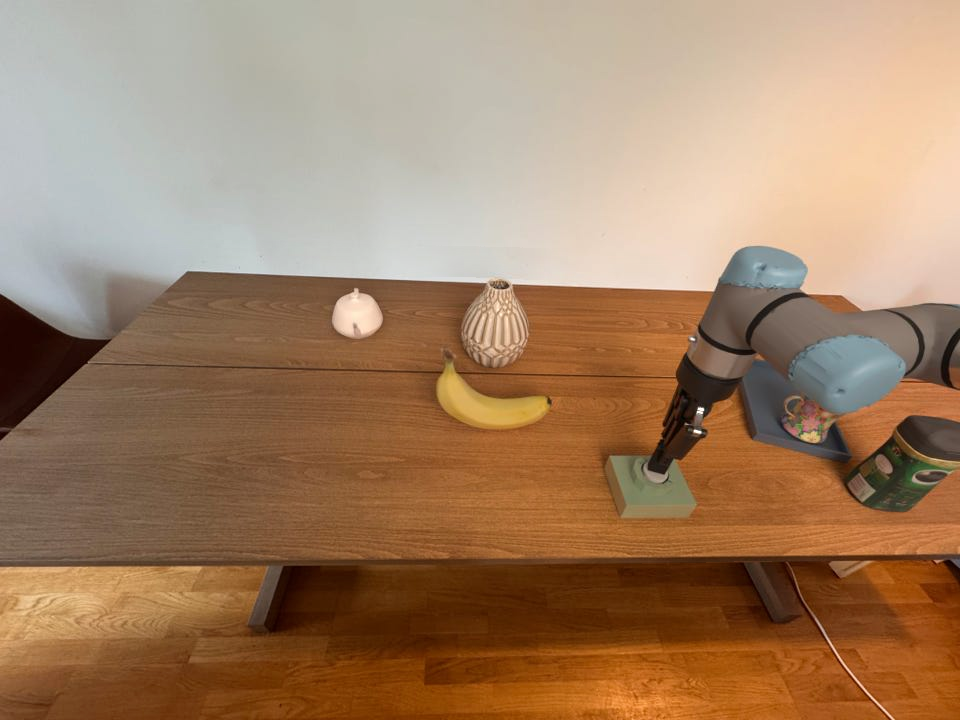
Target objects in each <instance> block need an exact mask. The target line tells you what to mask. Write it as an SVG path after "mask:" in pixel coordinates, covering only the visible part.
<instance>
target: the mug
mask: <svg viewBox="0 0 960 720" xmlns="http://www.w3.org/2000/svg"><path fill="white" fill-rule="evenodd" d="M793 399H799V401H798V403H797V404H796V405H795V406H794V407H793V408H792V409H791V410H790V411H788V410H787V403H788V402H789V401H790V400H793ZM783 406H784V409H785V411H786V412H785V413H783V414H782V415H781V418H780V420H781V424H782V426H783V427H784V428H785V429H786V430H787V431H788V432H789V433H790V434H791V435H793V436H794V437H796V438H798V439H800V440H803V441H805V442H809V443H821V442H823V441H825V440H826V438H827V432H828V429H829V428H830V426H831V425H832V424H833V423H834V422H835V421H836V422H837V420H839V419H840V418H842V417H844V416H846V414H834V413H830V412H827V411H825V410H823V409H822V408H821V407H820V406H818V405H817V404H816V403H814V402H813V401H812V400H810V399H809V398H808V397H807V396H805V395H804V394H803V393H801V396H791V397H788V398H787V399H786V400H785V401H784V404H783Z"/></svg>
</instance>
